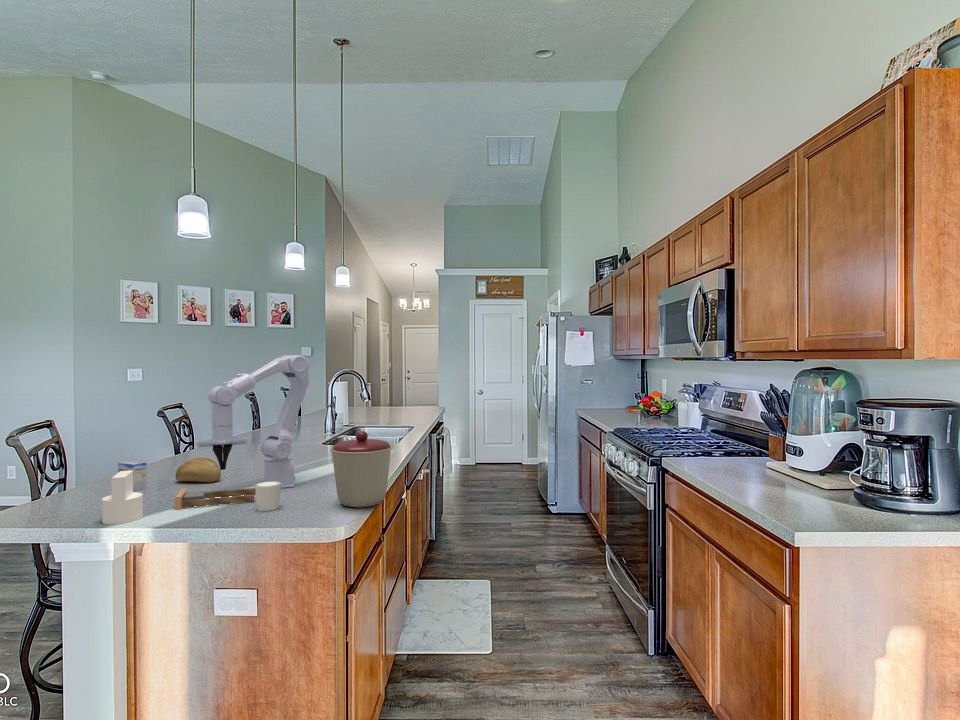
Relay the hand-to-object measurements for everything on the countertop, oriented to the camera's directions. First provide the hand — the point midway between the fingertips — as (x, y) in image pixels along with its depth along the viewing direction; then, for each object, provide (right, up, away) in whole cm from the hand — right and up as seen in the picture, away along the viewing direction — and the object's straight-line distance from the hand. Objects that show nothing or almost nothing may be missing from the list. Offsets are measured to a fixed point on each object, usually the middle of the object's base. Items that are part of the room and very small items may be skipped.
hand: (222, 469), depth 166 cm
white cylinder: (+19, -9, -13) cm, 25 cm away
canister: (+45, -9, -8) cm, 46 cm away
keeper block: (-5, -9, -8) cm, 13 cm away
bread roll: (-18, -9, +20) cm, 28 cm away
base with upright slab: (-16, -9, -23) cm, 29 cm away
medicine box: (-34, -9, +10) cm, 37 cm away
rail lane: (+1, -8, -6) cm, 10 cm away
